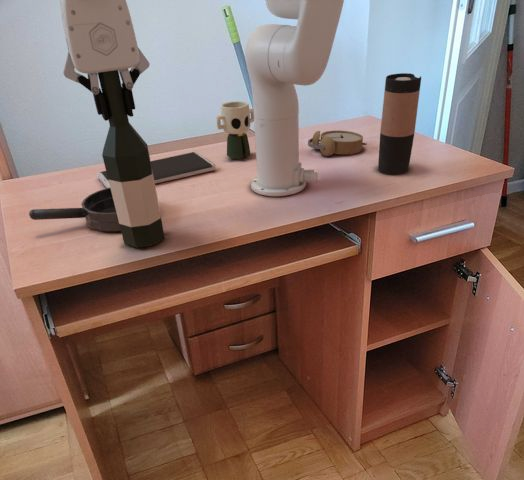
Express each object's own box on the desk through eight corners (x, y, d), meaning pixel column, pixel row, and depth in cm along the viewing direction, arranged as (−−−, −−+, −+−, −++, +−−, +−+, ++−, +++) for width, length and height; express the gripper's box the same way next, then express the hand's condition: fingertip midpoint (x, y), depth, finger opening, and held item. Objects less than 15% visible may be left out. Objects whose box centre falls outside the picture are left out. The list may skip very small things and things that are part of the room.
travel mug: (373, 173, 119) (382, 80, 106) (380, 163, 124) (389, 72, 112) (406, 176, 116) (419, 81, 104) (411, 165, 122) (424, 73, 109)
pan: (149, 198, 114) (146, 180, 112) (166, 223, 103) (162, 203, 101) (83, 212, 110) (77, 193, 107) (92, 239, 99) (86, 219, 97)
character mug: (227, 165, 129) (222, 111, 121) (214, 158, 134) (208, 105, 125) (263, 156, 133) (260, 103, 125) (249, 149, 138) (246, 98, 130)
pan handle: (87, 214, 104) (82, 198, 102) (89, 218, 103) (84, 201, 101) (33, 225, 101) (27, 209, 99) (34, 229, 100) (27, 212, 98)
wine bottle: (157, 248, 93) (119, 67, 75) (115, 246, 95) (69, 68, 76) (171, 228, 100) (140, 57, 81) (132, 227, 101) (93, 58, 82)
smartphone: (216, 171, 126) (215, 164, 125) (111, 195, 117) (109, 188, 116) (196, 157, 135) (195, 150, 134) (97, 178, 126) (96, 172, 125)
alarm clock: (372, 140, 129) (319, 138, 124) (367, 159, 132) (316, 158, 127) (352, 129, 137) (302, 126, 133) (348, 148, 140) (299, 146, 135)
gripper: (29, -14, 67) (70, 130, 78) (150, -24, 72) (171, 114, 83) (26, -16, 72) (64, 119, 84) (138, -25, 77) (160, 104, 89)
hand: (117, 115), depth 83 cm, fingers closed on wine bottle, 3 cm apart
